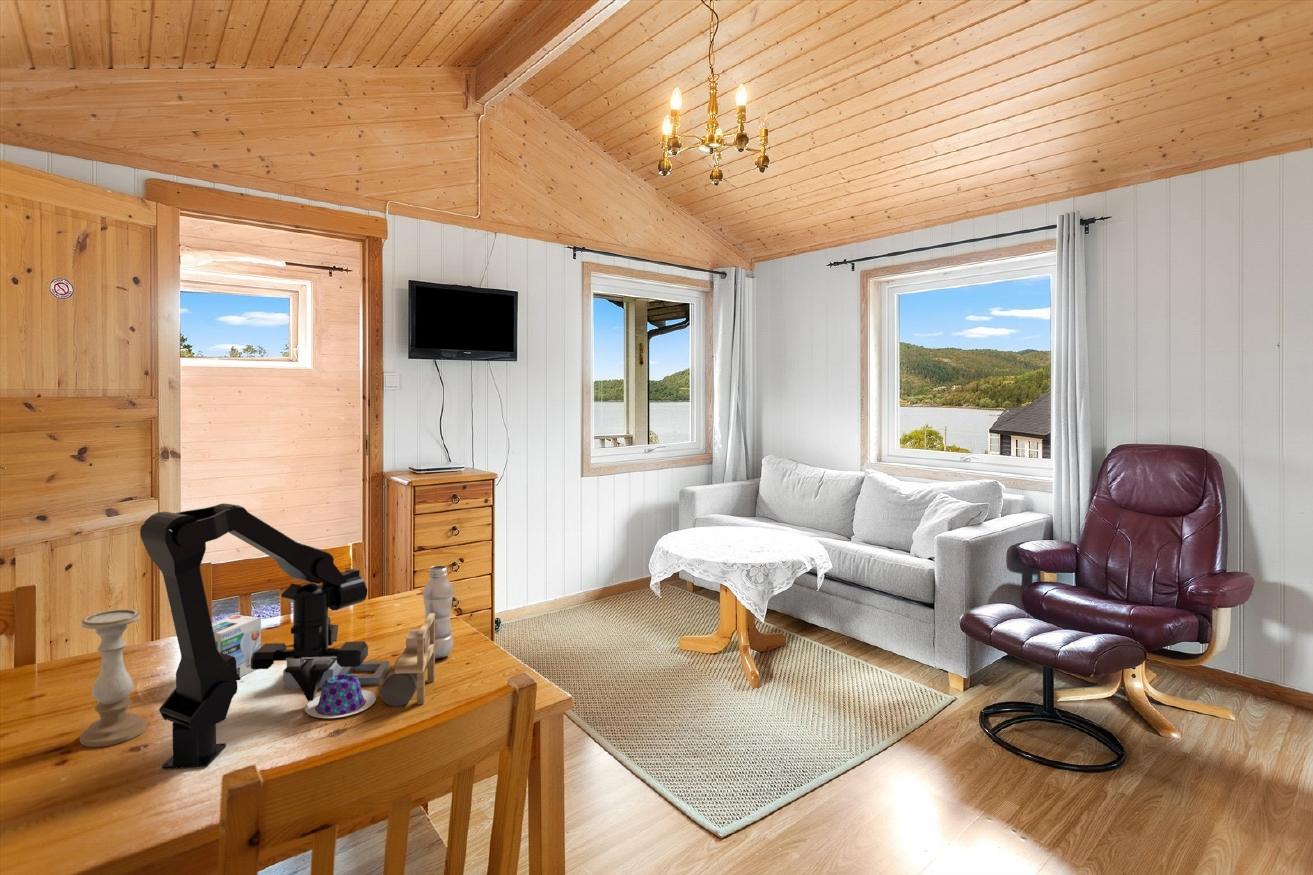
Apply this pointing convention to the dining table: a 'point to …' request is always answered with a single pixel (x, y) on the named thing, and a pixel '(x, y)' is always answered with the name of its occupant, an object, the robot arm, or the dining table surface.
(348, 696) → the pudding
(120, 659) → the candle holder
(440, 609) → the plastic bottle
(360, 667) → the collar
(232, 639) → the light bulb box
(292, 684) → the tray
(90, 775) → the dining table surface
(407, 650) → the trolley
